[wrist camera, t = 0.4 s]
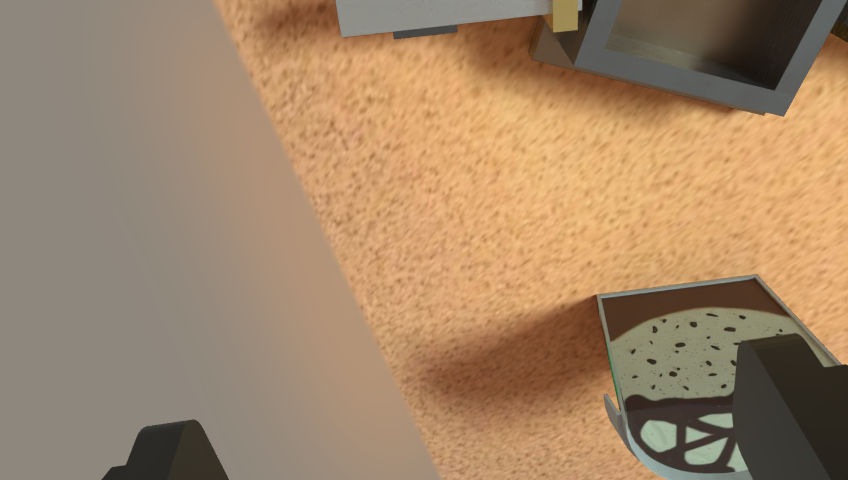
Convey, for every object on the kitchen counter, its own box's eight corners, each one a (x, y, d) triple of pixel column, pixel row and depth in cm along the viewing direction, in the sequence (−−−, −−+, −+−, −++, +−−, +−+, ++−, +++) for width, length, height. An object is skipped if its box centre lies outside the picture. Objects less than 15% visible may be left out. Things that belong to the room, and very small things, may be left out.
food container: (573, 374, 46) (613, 508, 38) (570, 297, 43) (614, 425, 34) (769, 350, 46) (855, 480, 37) (782, 270, 42) (880, 393, 34)
